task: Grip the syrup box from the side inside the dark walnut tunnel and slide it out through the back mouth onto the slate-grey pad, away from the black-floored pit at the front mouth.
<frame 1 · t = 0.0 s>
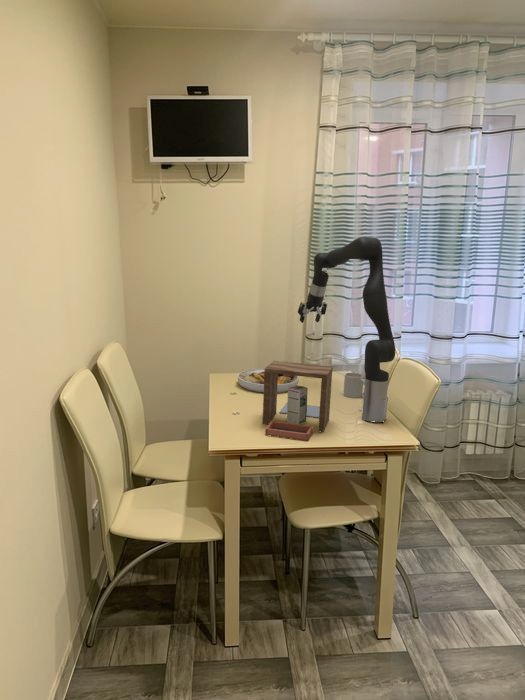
hand: (309, 321, 257), 31 cm above the table, tool tilted 20°, fingers open, 8 cm apart
walnut tunnel: (296, 422, 206), on the table
bowl: (267, 386, 257), on the table
syrup box: (296, 423, 206), on the table
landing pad: (303, 411, 220), on the table
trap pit: (289, 433, 194), on the table
mug: (354, 396, 245), on the table
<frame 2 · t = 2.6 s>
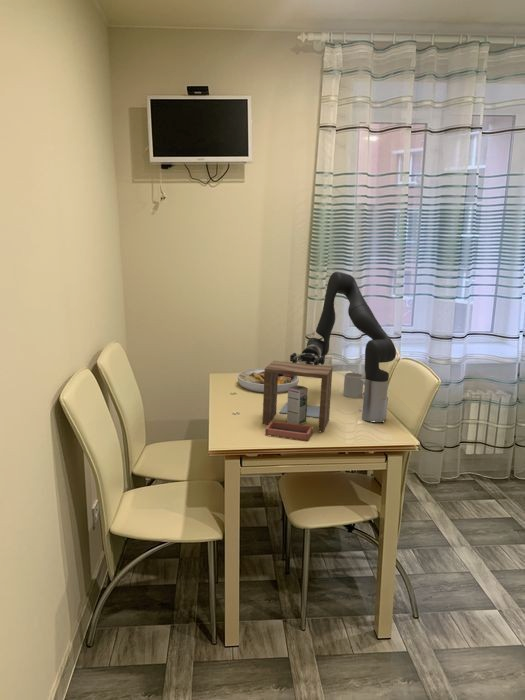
hand: (304, 362, 212), 22 cm above the table, tool horizontal, fingers open, 8 cm apart
nothing on the table moved.
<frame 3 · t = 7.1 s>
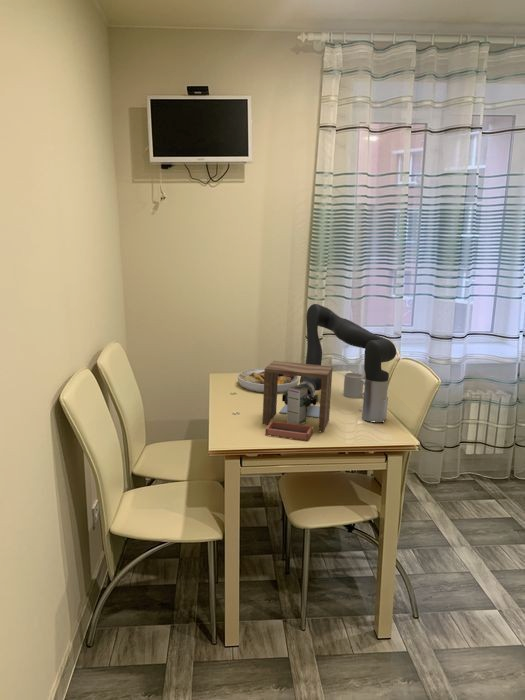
hand: (296, 403, 202), 9 cm above the table, tool horizontal, fingers closed on syrup box, 7 cm apart
syrup box: (296, 423, 206), on the table, touching gripper
everything else where it was.
when the fingers open (10 cm above the table, at t = 12.0 s): syrup box stays where it is, resting on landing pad.
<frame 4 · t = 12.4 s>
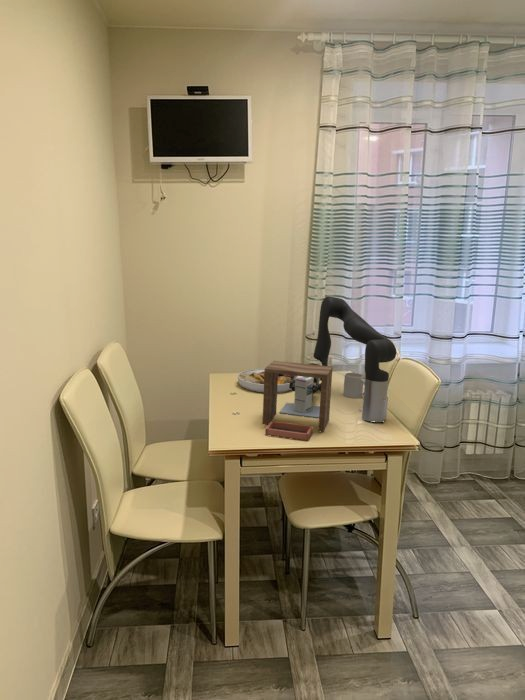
hand: (303, 390, 216), 10 cm above the table, tool horizontal, fingers open, 8 cm apart
syrup box: (302, 410, 219), resting on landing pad
everything else where it was.
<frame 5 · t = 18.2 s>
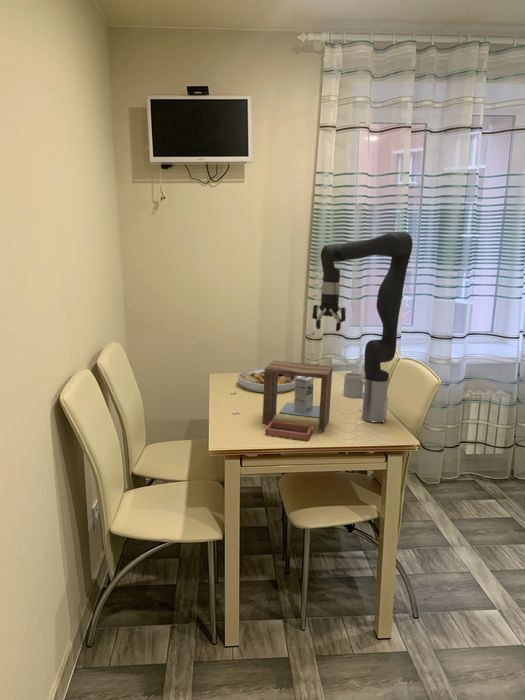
hand: (328, 330, 225), 33 cm above the table, tool pointing down, fingers open, 8 cm apart
nothing on the table moved.
at the end: syrup box 0.9 cm from the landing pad (horizontally); syrup box tilted 0°; the gripper is holding nothing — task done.
